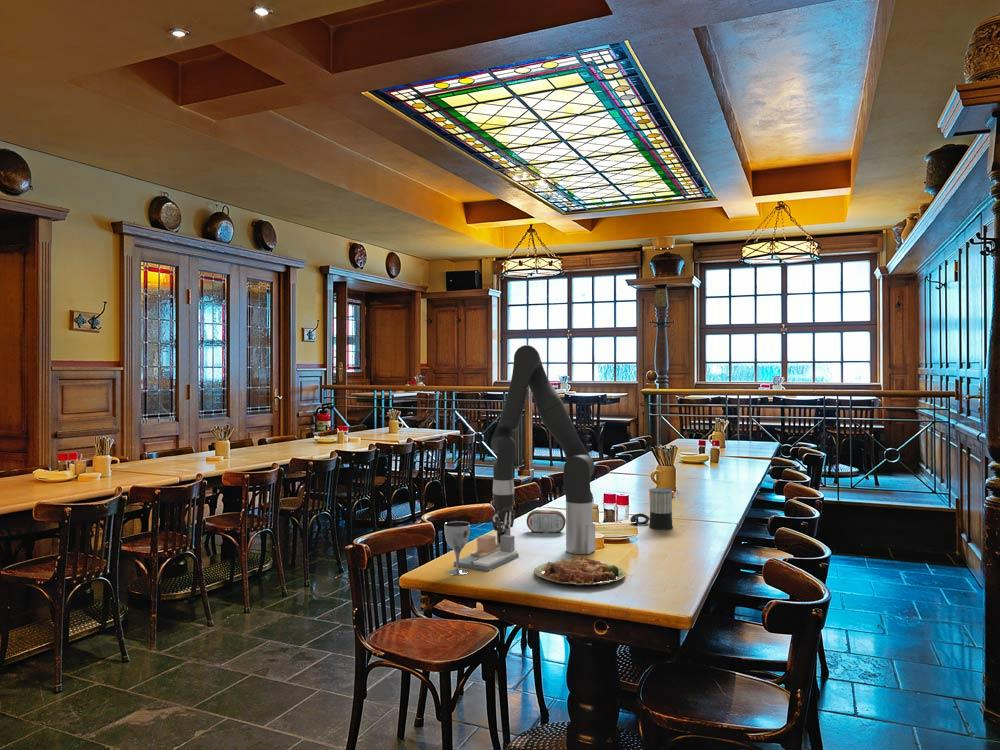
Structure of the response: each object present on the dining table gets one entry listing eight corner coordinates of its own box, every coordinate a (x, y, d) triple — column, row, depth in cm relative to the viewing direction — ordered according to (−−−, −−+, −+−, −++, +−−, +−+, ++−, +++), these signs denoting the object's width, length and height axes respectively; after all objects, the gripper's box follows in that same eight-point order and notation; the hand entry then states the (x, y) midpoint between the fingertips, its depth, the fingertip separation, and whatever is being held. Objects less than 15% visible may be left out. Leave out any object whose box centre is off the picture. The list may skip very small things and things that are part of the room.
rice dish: (558, 562, 230) (557, 546, 230) (638, 571, 216) (638, 553, 216) (517, 586, 205) (516, 567, 206) (605, 596, 191) (604, 577, 192)
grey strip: (516, 553, 232) (516, 536, 232) (487, 566, 216) (487, 548, 216) (502, 551, 235) (502, 534, 235) (472, 564, 219) (472, 545, 219)
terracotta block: (495, 549, 234) (495, 536, 234) (488, 552, 230) (488, 539, 230) (484, 548, 236) (484, 534, 236) (477, 550, 232) (477, 537, 232)
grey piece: (512, 545, 242) (512, 529, 242) (484, 557, 227) (484, 539, 227) (498, 543, 245) (498, 527, 245) (470, 555, 230) (470, 537, 230)
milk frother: (675, 529, 270) (675, 491, 269) (634, 529, 270) (634, 491, 270) (667, 521, 284) (667, 485, 284) (628, 521, 284) (628, 485, 284)
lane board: (518, 557, 232) (518, 550, 232) (488, 571, 216) (488, 564, 216) (485, 552, 239) (485, 545, 239) (453, 565, 223) (453, 558, 223)
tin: (565, 531, 268) (565, 510, 268) (565, 533, 265) (565, 511, 265) (526, 531, 269) (526, 509, 269) (526, 533, 266) (526, 511, 266)
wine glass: (446, 568, 219) (445, 521, 219) (471, 568, 219) (470, 521, 219) (443, 575, 211) (442, 526, 211) (469, 576, 211) (468, 526, 211)
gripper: (502, 496, 235) (502, 547, 235) (522, 490, 247) (522, 538, 247) (483, 494, 239) (484, 544, 239) (504, 488, 251) (504, 536, 251)
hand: (503, 541), depth 243 cm, fingers closed on grey piece, 2 cm apart
